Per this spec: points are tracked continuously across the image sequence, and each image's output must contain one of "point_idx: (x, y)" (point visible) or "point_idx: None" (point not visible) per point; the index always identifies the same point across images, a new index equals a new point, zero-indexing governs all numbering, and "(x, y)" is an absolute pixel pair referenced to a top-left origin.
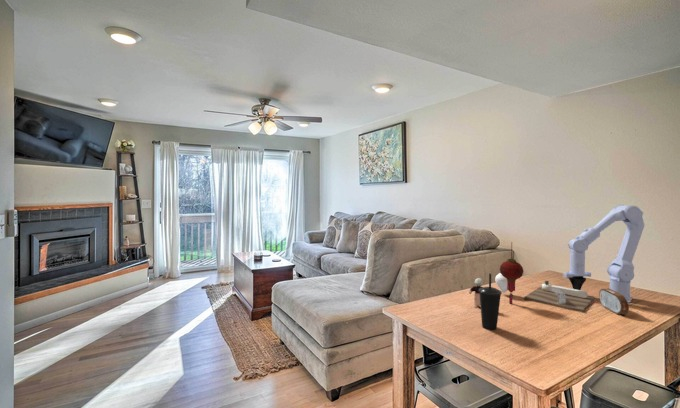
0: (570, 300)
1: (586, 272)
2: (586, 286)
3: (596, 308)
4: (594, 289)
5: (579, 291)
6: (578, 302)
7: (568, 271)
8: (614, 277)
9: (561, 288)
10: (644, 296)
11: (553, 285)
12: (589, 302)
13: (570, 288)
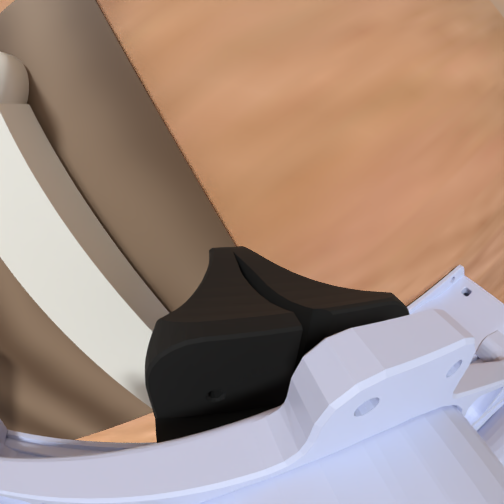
0: (27, 380)
1: (489, 411)
2: (498, 98)
3: (122, 439)
4: (487, 158)
5: (139, 394)
6: (57, 410)
7: (317, 410)
8: (477, 428)
9: (18, 276)
10: (499, 299)
11: (1, 138)
12: (129, 420)
13: (124, 304)
